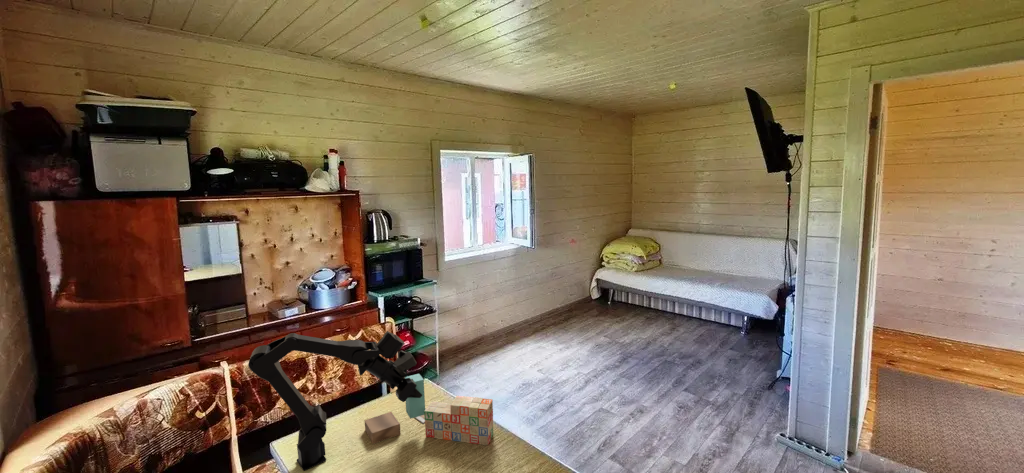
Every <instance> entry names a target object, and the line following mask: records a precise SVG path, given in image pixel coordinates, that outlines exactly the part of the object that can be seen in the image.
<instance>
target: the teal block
mask: <svg viewBox="0 0 1024 473" xmlns="http://www.w3.org/2000/svg"><path fill="white" fill-rule="evenodd" d="M404 378H405V379H406V378H410V379H413V380H414V382H415V383H416V389H417V390H418V391H419V392H420V393H421V394H422V397H421V398H407V400H406V401H405V413H406V414H407V416H408V417H409V419H413V418H415V417H418V416H422V415H424V411H425V409H426V399H425V380H424V378H423V376H422V375H421V374H420V373H416V374H412V375H407V377H404ZM415 419H416V418H415Z"/></svg>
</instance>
